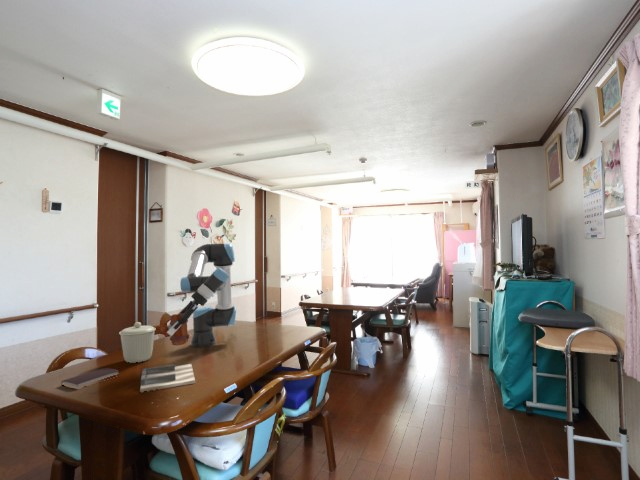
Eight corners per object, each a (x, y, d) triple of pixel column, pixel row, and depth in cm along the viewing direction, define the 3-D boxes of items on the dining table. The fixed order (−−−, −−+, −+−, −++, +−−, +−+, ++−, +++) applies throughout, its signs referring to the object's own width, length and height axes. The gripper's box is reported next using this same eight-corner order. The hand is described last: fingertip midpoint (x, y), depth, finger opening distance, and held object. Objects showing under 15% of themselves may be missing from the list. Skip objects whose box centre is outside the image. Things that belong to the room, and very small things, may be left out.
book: (61, 387, 158) (61, 379, 158) (103, 372, 175) (103, 366, 175) (77, 391, 152) (77, 383, 152) (119, 376, 170) (119, 369, 170)
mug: (194, 341, 167) (191, 310, 168) (183, 345, 159) (180, 312, 160) (168, 343, 170) (166, 312, 172) (156, 347, 163) (154, 315, 164)
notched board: (143, 373, 171) (143, 365, 171) (191, 366, 180) (191, 358, 180) (140, 392, 147) (140, 383, 147) (195, 383, 156) (194, 374, 156)
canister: (143, 353, 205) (143, 317, 206) (163, 357, 196) (162, 320, 197) (112, 362, 190) (111, 324, 190) (132, 367, 181) (131, 326, 181)
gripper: (211, 303, 161) (176, 342, 154) (205, 297, 182) (173, 331, 175) (199, 292, 159) (162, 331, 152) (194, 288, 180) (162, 322, 173)
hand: (168, 331), depth 164 cm, fingers closed on mug, 10 cm apart
